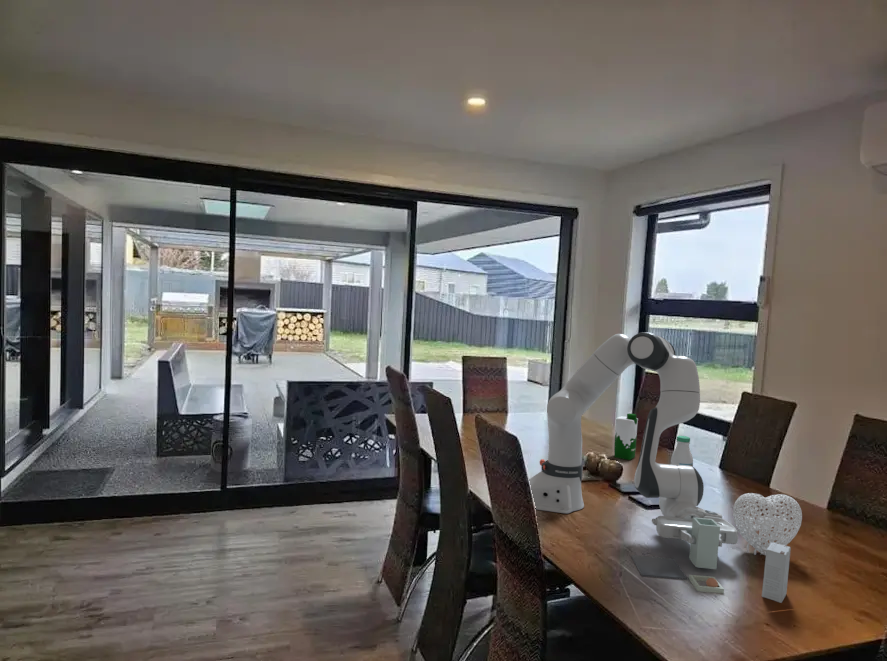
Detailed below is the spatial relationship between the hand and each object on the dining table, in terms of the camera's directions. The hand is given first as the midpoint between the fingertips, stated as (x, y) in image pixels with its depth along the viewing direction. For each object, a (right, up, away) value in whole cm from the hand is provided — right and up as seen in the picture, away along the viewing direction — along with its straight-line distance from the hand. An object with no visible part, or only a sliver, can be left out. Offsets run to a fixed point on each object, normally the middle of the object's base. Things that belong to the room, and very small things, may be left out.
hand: (706, 542), depth 145 cm
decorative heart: (+22, -9, +13) cm, 27 cm away
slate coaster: (-12, -8, +1) cm, 14 cm away
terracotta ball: (-3, -7, -8) cm, 11 cm away
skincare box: (+11, -9, -11) cm, 18 cm away
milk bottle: (+22, -6, +70) cm, 73 cm away
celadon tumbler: (0, -6, +1) cm, 6 cm away
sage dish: (-4, -9, -7) cm, 12 cm away
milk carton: (+15, -4, +113) cm, 114 cm away
